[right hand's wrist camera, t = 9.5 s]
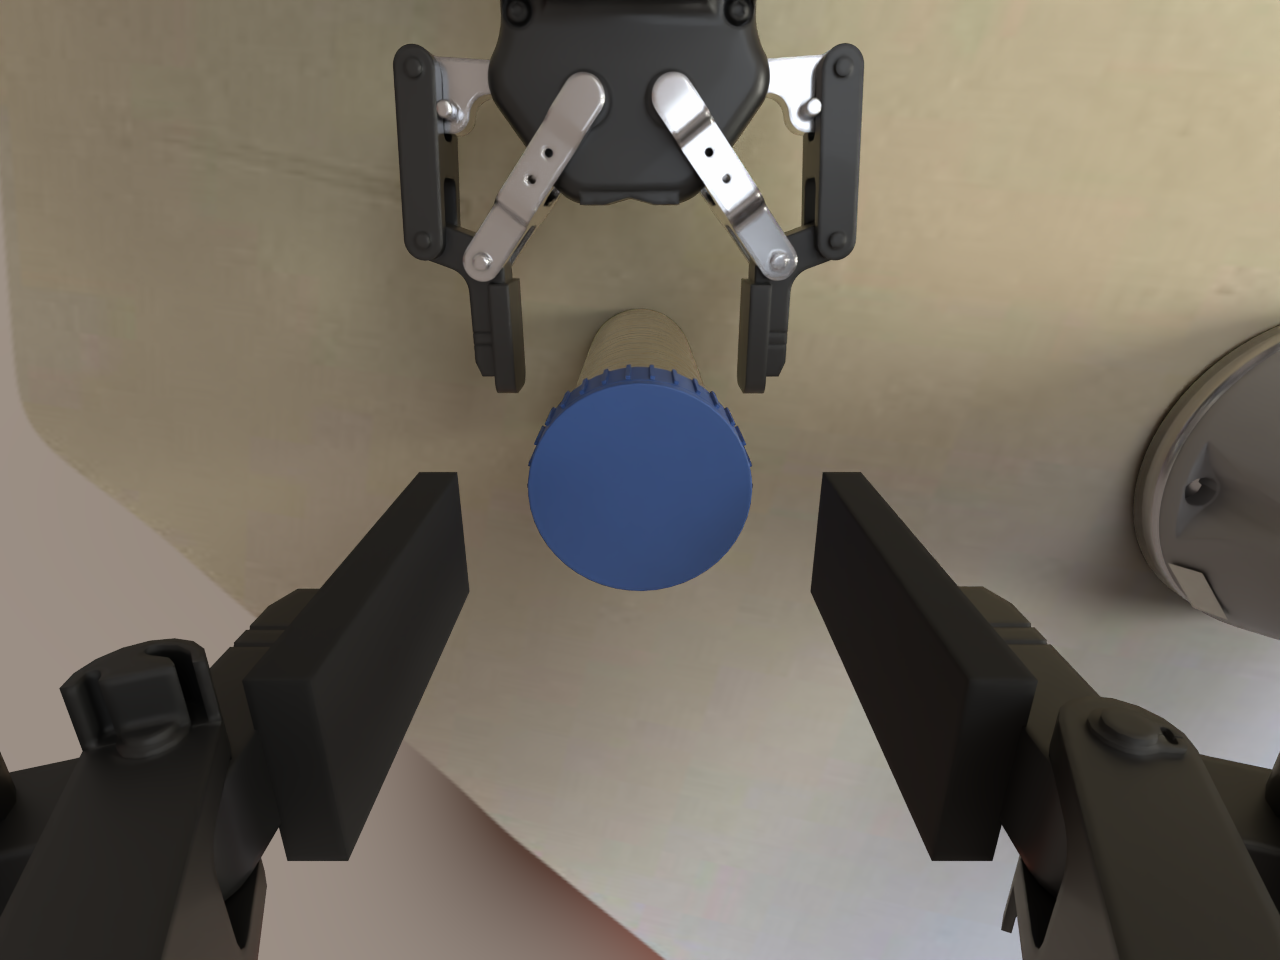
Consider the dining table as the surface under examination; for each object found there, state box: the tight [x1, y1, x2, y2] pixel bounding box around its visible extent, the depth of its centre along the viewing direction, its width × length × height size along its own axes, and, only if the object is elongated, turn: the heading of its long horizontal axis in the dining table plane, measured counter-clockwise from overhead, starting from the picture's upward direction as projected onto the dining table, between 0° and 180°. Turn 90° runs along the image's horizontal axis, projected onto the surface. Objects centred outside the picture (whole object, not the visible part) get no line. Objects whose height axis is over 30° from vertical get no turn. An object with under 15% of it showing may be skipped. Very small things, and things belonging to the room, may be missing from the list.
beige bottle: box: [575, 309, 705, 389], centre depth 24 cm, size 4×4×15 cm
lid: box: [527, 364, 753, 591], centre depth 17 cm, size 5×5×2 cm
